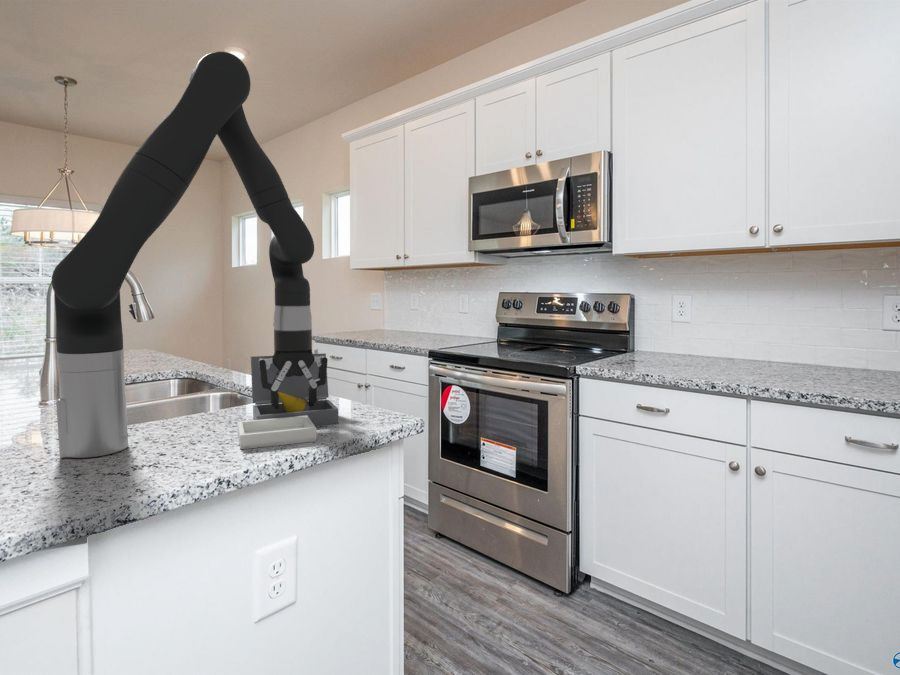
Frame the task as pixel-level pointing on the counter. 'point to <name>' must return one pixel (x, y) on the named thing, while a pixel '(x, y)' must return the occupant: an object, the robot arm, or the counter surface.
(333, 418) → the case
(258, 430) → the tray
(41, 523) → the counter surface
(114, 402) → the robot arm
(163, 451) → the counter surface
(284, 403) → the drill bit
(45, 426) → the counter surface
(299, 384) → the lid
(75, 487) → the counter surface
